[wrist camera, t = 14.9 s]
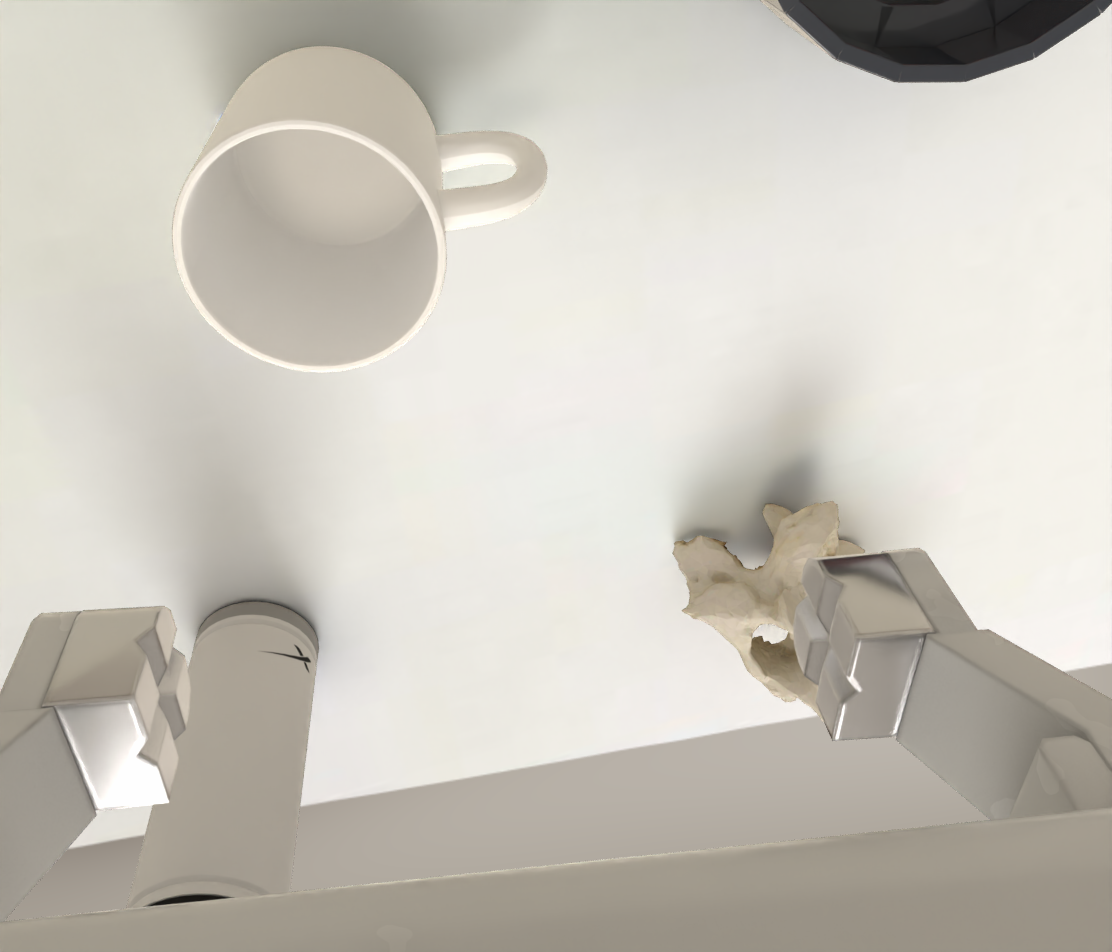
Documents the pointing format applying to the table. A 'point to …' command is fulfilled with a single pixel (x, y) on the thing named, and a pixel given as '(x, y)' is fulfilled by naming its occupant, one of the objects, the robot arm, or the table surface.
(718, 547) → the bone
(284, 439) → the table surface
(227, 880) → the travel mug
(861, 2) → the bowl
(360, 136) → the cup
